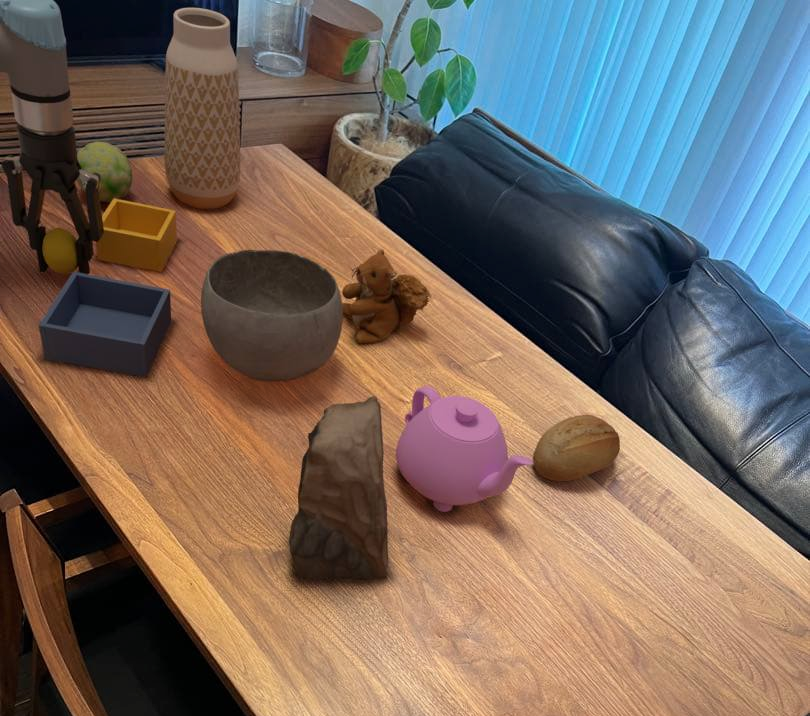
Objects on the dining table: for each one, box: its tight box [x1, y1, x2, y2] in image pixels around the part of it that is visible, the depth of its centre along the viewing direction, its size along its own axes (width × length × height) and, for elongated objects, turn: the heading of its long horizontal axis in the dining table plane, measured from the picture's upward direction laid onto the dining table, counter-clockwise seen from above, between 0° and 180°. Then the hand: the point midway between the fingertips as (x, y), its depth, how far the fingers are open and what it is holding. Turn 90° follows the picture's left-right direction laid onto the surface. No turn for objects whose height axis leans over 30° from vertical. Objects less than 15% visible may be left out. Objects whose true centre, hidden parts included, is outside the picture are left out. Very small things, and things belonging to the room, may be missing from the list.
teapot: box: [395, 385, 534, 513], centre depth 109 cm, size 22×16×14 cm
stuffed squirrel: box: [341, 248, 433, 344], centre depth 132 cm, size 10×14×13 cm
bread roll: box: [532, 414, 621, 482], centre depth 119 cm, size 10×15×8 cm, turn 125°
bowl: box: [200, 249, 344, 383], centre depth 119 cm, size 20×20×15 cm
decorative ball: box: [76, 141, 133, 203], centre depth 144 cm, size 10×10×10 cm
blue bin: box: [38, 271, 172, 378], centre depth 120 cm, size 15×15×6 cm
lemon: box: [42, 227, 78, 276], centre depth 127 cm, size 6×6×8 cm
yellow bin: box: [95, 198, 178, 273], centre depth 137 cm, size 11×11×6 cm
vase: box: [164, 7, 241, 210], centre depth 144 cm, size 14×14×31 cm
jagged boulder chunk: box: [288, 395, 389, 581], centre depth 96 cm, size 13×13×20 cm
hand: (65, 271), depth 130 cm, fingers closed on lemon, 5 cm apart
